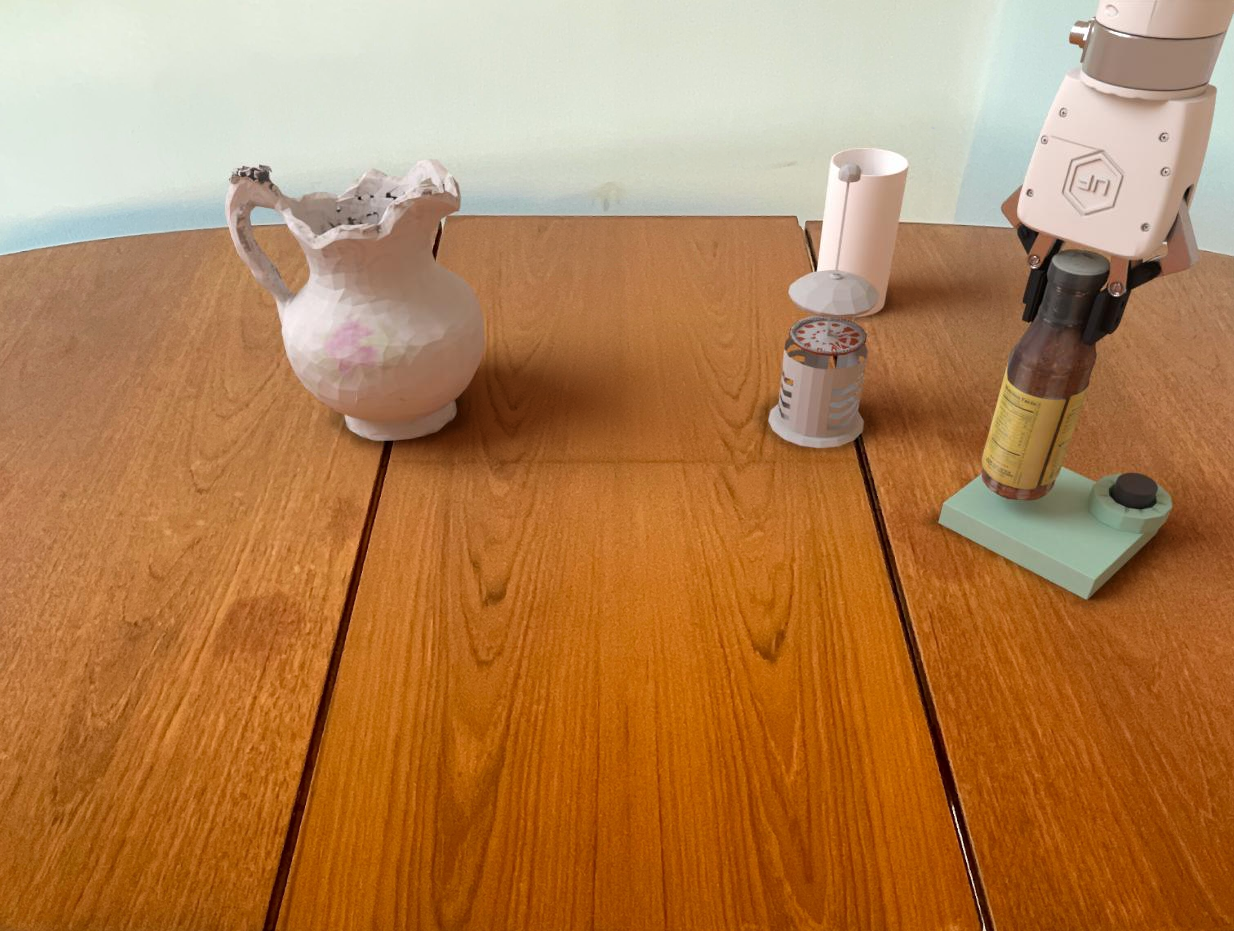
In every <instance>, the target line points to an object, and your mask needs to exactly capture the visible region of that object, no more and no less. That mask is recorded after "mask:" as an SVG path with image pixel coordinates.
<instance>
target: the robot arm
mask: <svg viewBox="0 0 1234 931" xmlns="http://www.w3.org/2000/svg"><path fill="white" fill-rule="evenodd" d="M1233 17H1234V0H1099V2H1098V5H1097V9H1096V13H1095V16H1092V18H1091V19H1090V20H1088V21H1084V20H1077V21H1076V22H1075V23H1074V24H1073V25H1072V28H1071V30H1070V33H1069V36H1068V42H1069V44H1071V45H1076V46H1078V48H1080V49H1082V53H1081V55H1080V56H1081V57H1080V61H1079V63H1080V64H1081V65H1080V66H1078V67H1073V68H1071V69H1069V70H1067V72H1066V73H1065V76H1064V78H1063V79H1062V81H1061V84H1060V86H1059V88H1058V89H1057V91H1056V94H1055V97H1054V98H1053V101H1052V103H1051V106H1050V108H1049V110H1048V113H1047V115H1046V117H1045V121H1044V123H1043V126H1042V127H1041V130H1040V133H1039V136H1038V139H1037V141H1036V144H1035V147H1034V149H1033V152H1032V155H1031V158H1030V161H1029V164H1028V167H1027V171H1026V173H1025V177H1024V180H1023V183H1022V184H1021V185H1020V186H1019V187H1018V188H1017V189H1015V190H1014V192H1012V193H1011V195H1009V196H1008V197H1007V198H1006V199H1005V200H1004V201H1003V202H1002V204H1001V206H1000V211H1001V213H1002V215H1003V216H1004V217H1005V218H1006V220H1007V221H1008V222H1009V224H1010V225H1011V226H1012V227H1013V229H1016V235H1017V237H1018V239H1019V241H1020V243H1021V245H1022V247H1023V249H1024V251H1025V253H1026V255H1027V256H1026V265H1027V266H1028V267H1029V268H1030V272H1029V275H1028V278H1027V282H1026V286H1025V289H1024V294H1023V296H1022V304H1025V306H1024V310H1023V314H1022V317H1021V321H1023V322H1025V323H1028V324H1031V322H1033V320H1034V318H1035V316H1036V315H1037V313H1038V310H1039V306H1040V304H1041V303H1042V300H1043V297H1044V293H1045V289H1046V286H1047V282H1048V277H1047V272H1048V269H1049V266H1050V263H1051V260H1052V257H1053V256H1054V255H1055V254H1057V253H1058V252H1060V251H1063V249H1064V247H1065V245H1066V243H1070V244H1073V245H1075V246H1080V247H1083V248H1086V249H1088V250H1091V251H1094V252H1097V253H1100V254H1101V253H1102V254H1104V255H1108V256H1110V272H1109V277H1108V280H1107V282H1106V285H1105V288H1104V289H1103V288H1102V289H1101V291H1100V292H1099V293H1098V294H1097V296H1096V299H1095V302H1094V305H1093V308H1092V311H1091V314H1090V317H1089V320H1088V323H1087V327H1086V330H1085V333H1084V336H1083V339H1082V341H1084V344H1087V345H1089V346H1092V345H1093V344H1095V343H1096V344H1097V343H1098V342H1100V340H1102V339H1104V338H1105V337H1106V336H1107V335H1112V334H1114V332H1116V331H1117V330H1118V328H1119V326H1120V324H1121V321H1122V319H1123V316H1124V313H1125V310H1126V307H1127V305H1128V301H1129V299H1130V296H1131V293H1132V290H1134V289H1136V288H1138V287H1140V286H1143V285H1144V284H1146V283H1149V282H1151V281H1153V280H1154V279H1157V278H1160V277H1165V276H1169V275H1172V274H1175V273H1176V274H1177V273H1179V272H1184V271H1186V270H1188V269H1190V268H1192V267H1193V266H1194V265H1196V264H1197V263H1198V262H1199V260H1200V258H1201V257H1200V252H1199V247H1198V244H1197V240H1196V235H1195V231H1194V228H1193V224H1192V220H1191V217H1190V212H1189V211H1190V209H1191V206H1192V204H1193V200H1194V196H1195V193H1196V191H1197V187H1198V184H1199V179H1200V176H1201V173H1202V170H1203V166H1204V162H1205V159H1206V154H1207V149H1208V145H1209V141H1210V136H1211V132H1212V127H1213V126H1212V125H1213V121H1214V115H1215V110H1216V109H1215V108H1216V102H1217V92H1218V89H1217V86H1216V85H1213V84H1210V81H1211V78H1212V75H1213V72H1214V70H1215V66H1216V63H1217V61H1218V58H1219V56H1220V53H1221V50H1222V47H1223V44H1224V41H1225V39H1226V36H1227V33H1228V30H1229V27H1230V25H1231V22H1232V20H1233ZM1163 243H1166V245H1167V253H1164V254H1160V255H1155V256H1153V257H1151V258H1150V259H1148V260H1147V258H1148V257H1150V256H1152V255H1153V254H1156V252H1157V251H1158V250H1159V249H1160V248H1161V247H1162V245H1163Z"/></svg>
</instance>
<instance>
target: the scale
mask: <svg viewBox="0 0 1234 931" xmlns="http://www.w3.org/2000/svg"><path fill="white" fill-rule="evenodd" d="M1122 474H1123V473H1115V474H1108V475H1103V476H1102V477H1101V478H1100V479H1098V480H1097V481H1095V480H1093V479H1091V478H1088V477H1086V476H1085V475H1082V474H1080V473H1077V472H1075V471H1073V470H1071V469H1069V468H1066V467H1064V466H1062V467H1061V470H1060V473H1059V475H1058V477H1057V478H1056V479H1055V483H1054V486H1053V487H1052V489H1051V490H1050V492H1048V493H1047V494H1046V495H1045V496H1043V497H1042V498H1040V499H1036V500H1028V501H1027V500H1012V499H1006V498H1004V497H1002V496H1000V495H997V494H996V493H995V492H993V491H991V490H990V489H989V488H988V487H987V486H986V485H985V483H984V482H983V480H982V474H981V473H980V474H979V475H978V476H976V477H975V478H974V479H973V480H971V481H970V482H969V483H968V484H966V485H965V486H963V487H962V488H961V489H959V490H958V491H957V492H956V493H954V494H953V495H952V496H950V497H949V498H948V499H947V500H945V501H944V502H943V503H942V506H941V507H942V508H941V511H940V514H939V519H938V524H940V525H941V526H944V527H945V528H947V529H949V530H951V531H953V532H955V533H957V534H959V535H961V536H963V537H965V538H966V539H969V540H971V541H973V542H975V543H976V544H978V545H980V546H982V547H984V548H986V549H988V550H990V551H992V552H994V553H995V554H998V555H999V556H1001V557H1003V558H1005V559H1008V560H1009V561H1011V562H1013V563H1015V564H1017V565H1019V566H1020V567H1023V568H1024V569H1026V570H1029V571H1030V572H1033V573H1034V574H1036V575H1037V576H1040V577H1042V578H1044V579H1046V580H1048V581H1049V582H1052V583H1053V584H1056V585H1057V586H1059V587H1061V588H1063V589H1065V590H1067V591H1068V592H1071V593H1072V594H1074V595H1077V596H1078V597H1080V598H1082V599H1084V600H1086V601H1088V600H1089V599H1090V598H1091V597H1092V596H1093V595H1094V594H1095V593H1096V592H1097V591H1098V590H1100V588H1102V587H1103V585H1105V584H1106V583H1107V582H1108V581H1109V580H1110V579H1111V578H1112V577H1113V576H1114V575H1115V574H1116V573H1117V572H1118V571H1119V570H1121V568H1122V567H1123V566H1124V565H1125V564H1126V563H1128V562H1129V561H1130V559H1132V558H1133V557H1134V556H1135V555H1136V554H1137V553H1138V552H1139V551H1140V550H1142V548H1143V547H1144V546H1145V545H1146V544H1147V543H1148V542H1150V540H1151V539H1152V538H1154V537H1155V536H1156V535H1157V534H1158V531H1159V530H1160V528H1161V527H1162V526H1163V525H1164V524H1165V523H1166V522H1167V520H1168V518H1169V516H1170V513H1171V512H1172V510H1173V501H1172V495H1171V494H1170V493H1169V492H1167V490H1165V489H1164V487H1163V486H1161V485H1160V484H1159V483H1158V482H1156V484H1157V486H1158V491H1157V493H1156V495H1155V497H1154V500H1153V502H1152V504H1151V506H1150V507H1148V508H1146V509H1142V510H1139V509H1132V508H1127V507H1125V506H1122V505H1120V504H1118V503H1116V502H1115V501H1114V500H1113V498H1112V496H1111V493H1112V490H1113V488H1114V485H1115V483H1116V480H1117V478H1118V477H1119V476H1120V475H1122Z"/></svg>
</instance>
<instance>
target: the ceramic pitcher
mask: <svg viewBox="0 0 1234 931" xmlns="http://www.w3.org/2000/svg"><path fill="white" fill-rule="evenodd" d="M231 173H232V174H231V176H230V177H229V178H228V182H229V183H228V184H229V185H228V189H227V193H226V196H225V206H224V215H225V219H226V223H227V226H228V230H229V233H230V237H231V239H232V242H233V245H234V248H235V249H236V252H237V255H238V256H239V257H240V259H241V260H242V262H243V263H244V264H245V265H246V266H247V267H248V269H249V270H250V272H251V274H252V275H253V277H254V279H255V281H256V283H257V284H259V285H260V286H261V287H262V288H264V289H265V290H267V292H269V294H270V295H271V297H272V298H273V299H274V300H275V303H276V307H277V312H278V317H279V321H280V324H281V335H282V340H283V346H284V348H285V353H286V358H287V359H288V361H289V364H290V365H291V368H292V370H293V372H294V373H295V375H296V377H297V379H298V380H299V381H300V383H301V384H302V386H303V387H304V388H305V389H306V390H307V391H308V392H309V393H310V394H311V395H313V397H315V398H316V399H317V400H318V401H320V402H321V403H323V404H324V405H326V406H327V407H328V408H330V409H331V410H333V411H334V412H336V413H339V414H342V415H344V420H345V423H346V427H347V428H348V430H349V431H350V432H353V433H354V434H356V435H358V436H360V437H361V438H363V439H369V440H370V441H375V442H384V441H386V442H387V441H402V440H413V439H416V438H419V437H424V436H425V437H426V436H428V435H431V434H434V433H437V432H439V431H440V430H441V429H442V428H443V427H445V425H446V424H448V423H449V422H452V421H453V420H454V418H455V417H456V416H457V412H458V410H457V403H456V400H457V399H458V398H459V397H460V396H461V395H462V394H463V393H464V391H465V390H466V389H467V388H468V386H469V385H470V383H471V381H472V380H473V378H474V376H475V374H476V372H477V370H478V368H479V366H480V364H481V362H482V358H483V354H484V351H485V346H486V345H485V344H486V337H485V335H486V332H485V320H484V315H483V311H482V307H481V303H480V300H479V298H478V296H477V294H476V292H475V290H474V289H473V287H472V286H471V285H470V284H469V283H468V282H467V281H466V280H465V279H464V278H463V277H462V276H461V275H459V274H458V273H457V272H454V271H453V270H450V269H448V268H446V267H444V266H443V265H441V264H438V262H437V261H436V260H435V257H434V254H433V253H434V252H433V249H432V248H433V247H432V241H431V239H432V236H433V233H434V231H435V229H436V228H437V227H438V225H439V224H440V222H441V221H442V220H443V219H445V218H446V217H448V216H450V215H451V214H454V213H456V212H460V209H461V202H462V196H461V190H460V186H459V183H458V181H456V179H455V177H454V176H453V175H452V174H451V172H449V170H448V169H447V168H446V167H444V166H443V165H442V164H441V163H440V161H439V159H432V158H430V159H421V160H418V161H416V163H414V164H413V165H412V167H411V169H410V170H409V171H408V173H407V174H406V175H405V176H404V177H397V176H393V175H388V174H385V173H384V172H383V171H380V170H378V169H376V168H372V169H370V170H367V171H365V172H364V173H362V175H360V176H359V177H358V178H356V179H355V180H353V182H352V183H351V184H350V185H349V186H348V187H347V188H346V189H345V191H343V192H342V193H341V194H334V193H332V192H326V191H315V192H312V193H311V192H310V193H307V194H303V195H301V196H299V197H297V198H296V197H290V196H288V195H285V194H283V192H282V190H281V189H280V187H279V186H278V185H277V184H275V183H273V181H272V180H271V178H270V177H271V176H270V173H273V171H272V168H271V166H270V165H265V164H260V163H259V165H258V166H257V167H256V166H255V167H254V166H245V165H242V166H241V167H233V170H232V171H231ZM256 207H260V208H265V209H271V210H274V212H276V213H277V214H278V216H280V218H282V220H284V223H286V225H287V227H288V229H289V231H290V232H291V234H292V235H293V236H294V238H295V239H296V241H297V242H298V244H299V245H300V247H301V249H302V250H303V253H304V255H305V258H306V262H307V264H308V268H309V277H308V280H307V281H306V283H305V284H304V285H303V286H302V287H301V288H300V289H299V290H298V291H297V292H292V291H291V289H290V288H289V287H288V286H287V284H286V283H285V281H284V279H283V278H282V276H281V274H280V271H279V270H278V267H277V265H275V263H274V262H273V261H272V260H271V259H270V258H269V256H268V255H267V254H266V252H265V251H264V250H263V249H262V247H261V246H260V245H259V243H258V242H257V241H256V239H255V235H254V230H253V226H252V222H251V212H252V211H253V210H254V209H255V208H256Z"/></svg>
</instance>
